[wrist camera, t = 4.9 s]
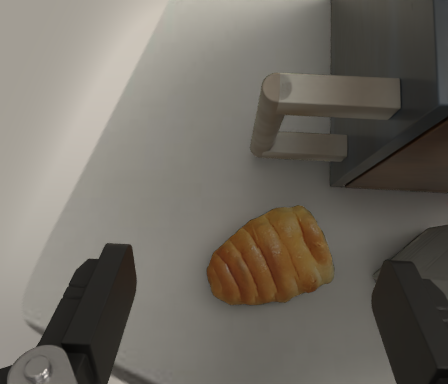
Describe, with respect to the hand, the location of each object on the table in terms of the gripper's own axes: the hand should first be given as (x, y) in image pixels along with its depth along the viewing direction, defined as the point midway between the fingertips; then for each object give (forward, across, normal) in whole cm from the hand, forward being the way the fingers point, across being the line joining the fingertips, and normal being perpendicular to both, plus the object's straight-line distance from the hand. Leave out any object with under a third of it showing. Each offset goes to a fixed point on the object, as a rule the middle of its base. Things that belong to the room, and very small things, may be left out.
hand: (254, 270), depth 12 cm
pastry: (+14, -3, +12) cm, 19 cm away
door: (+24, -4, +2) cm, 24 cm away
